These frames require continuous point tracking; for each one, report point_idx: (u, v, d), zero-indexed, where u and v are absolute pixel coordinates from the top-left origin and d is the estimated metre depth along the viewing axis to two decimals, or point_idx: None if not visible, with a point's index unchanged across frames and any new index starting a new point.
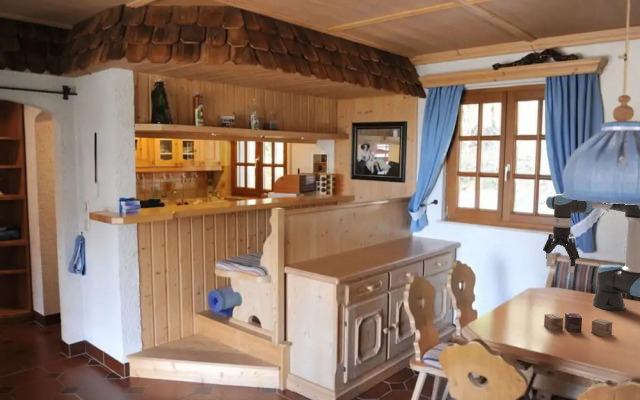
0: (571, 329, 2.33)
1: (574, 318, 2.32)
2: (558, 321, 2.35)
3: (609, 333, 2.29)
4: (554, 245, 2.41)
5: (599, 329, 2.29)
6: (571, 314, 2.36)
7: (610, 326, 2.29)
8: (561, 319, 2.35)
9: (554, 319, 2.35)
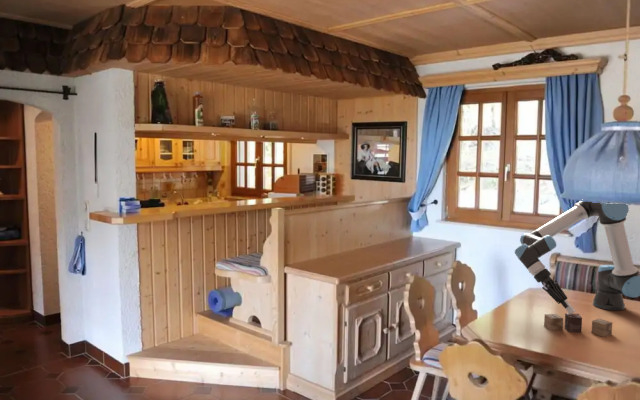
0: (571, 329, 2.33)
1: (574, 318, 2.32)
2: (558, 321, 2.35)
3: (609, 333, 2.29)
4: None
5: (599, 329, 2.29)
6: (571, 314, 2.36)
7: (610, 326, 2.29)
8: (561, 319, 2.35)
9: (554, 319, 2.35)
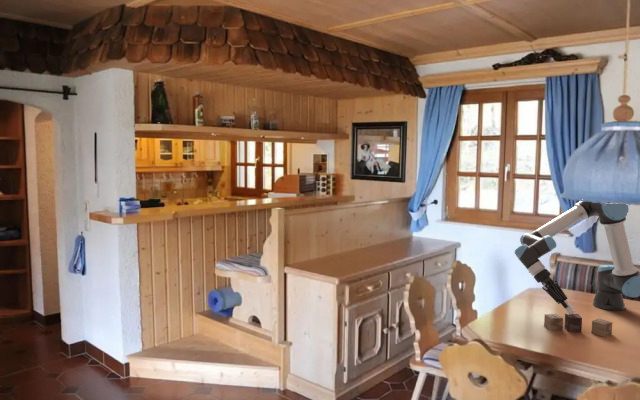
0: (571, 329, 2.33)
1: (574, 318, 2.32)
2: (558, 321, 2.35)
3: (609, 333, 2.29)
4: None
5: (599, 329, 2.29)
6: (571, 314, 2.36)
7: (610, 326, 2.29)
8: (561, 319, 2.35)
9: (554, 319, 2.35)
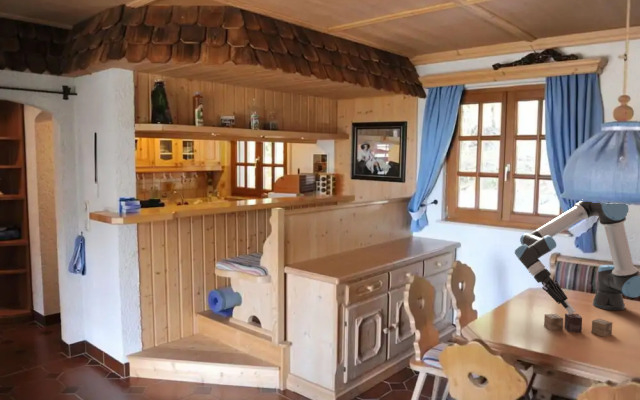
0: (571, 329, 2.33)
1: (574, 318, 2.32)
2: (558, 321, 2.35)
3: (609, 333, 2.29)
4: None
5: (599, 329, 2.29)
6: (571, 314, 2.36)
7: (610, 326, 2.29)
8: (561, 319, 2.35)
9: (554, 319, 2.35)
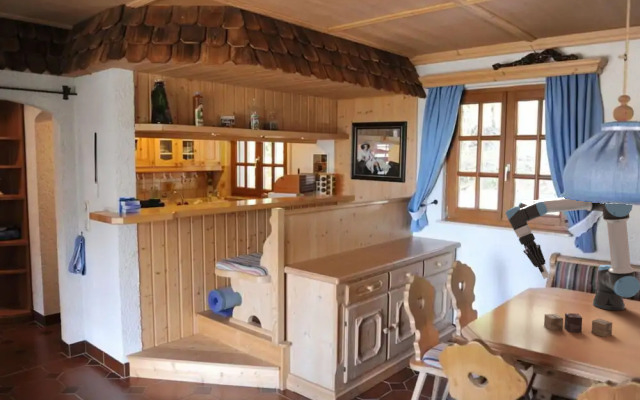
0: (571, 329, 2.33)
1: (574, 318, 2.32)
2: (558, 321, 2.35)
3: (609, 333, 2.29)
4: None
5: (599, 329, 2.29)
6: (571, 314, 2.36)
7: (610, 326, 2.29)
8: (561, 319, 2.35)
9: (554, 319, 2.35)
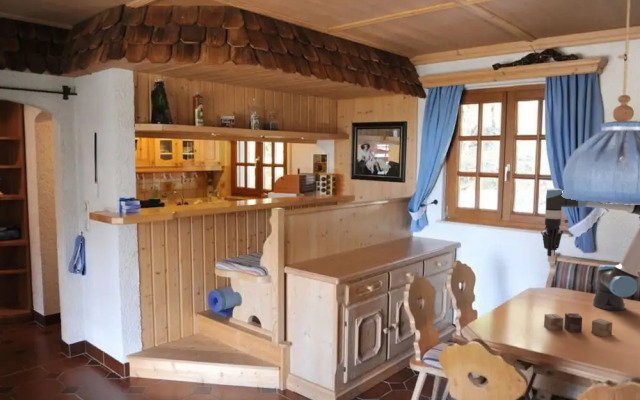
0: (571, 329, 2.33)
1: (574, 318, 2.32)
2: (558, 321, 2.35)
3: (609, 333, 2.29)
4: None
5: (599, 329, 2.29)
6: (571, 314, 2.36)
7: (610, 326, 2.29)
8: (561, 319, 2.35)
9: (554, 319, 2.35)
